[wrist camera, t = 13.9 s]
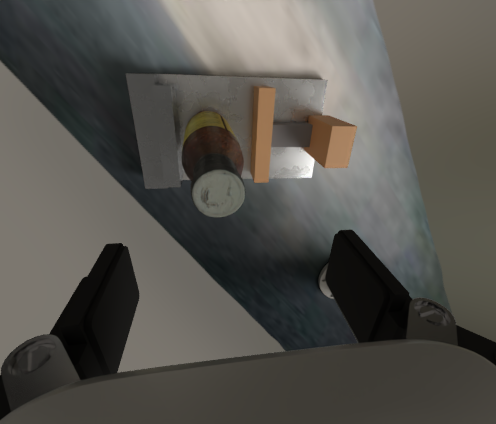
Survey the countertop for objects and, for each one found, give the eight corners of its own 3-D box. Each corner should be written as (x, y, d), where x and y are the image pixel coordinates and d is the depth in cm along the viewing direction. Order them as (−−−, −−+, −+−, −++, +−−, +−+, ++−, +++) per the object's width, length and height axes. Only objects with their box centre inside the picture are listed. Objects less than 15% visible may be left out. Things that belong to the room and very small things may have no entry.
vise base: (323, 79, 36) (344, 81, 30) (308, 174, 43) (323, 190, 37) (135, 72, 33) (120, 73, 27) (151, 176, 39) (142, 194, 34)
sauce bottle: (177, 139, 36) (150, 205, 19) (200, 99, 34) (193, 131, 16) (218, 163, 38) (227, 242, 21) (241, 127, 36) (272, 180, 19)
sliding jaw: (333, 88, 35) (364, 93, 28) (318, 171, 41) (341, 193, 34) (253, 85, 34) (266, 90, 27) (250, 172, 39) (259, 195, 32)
